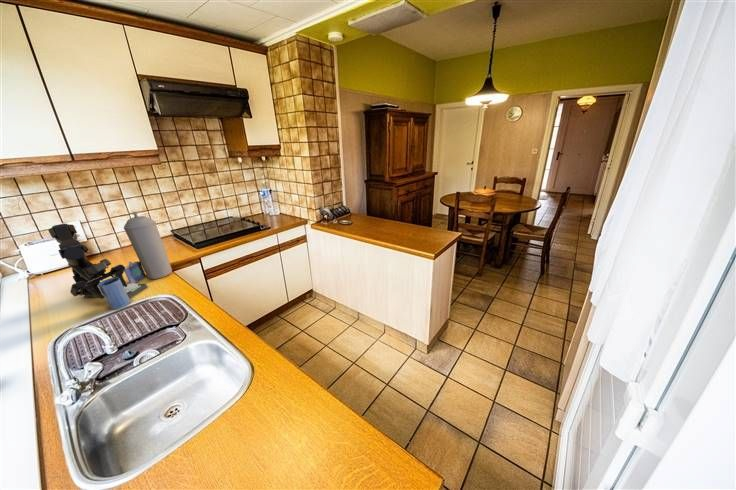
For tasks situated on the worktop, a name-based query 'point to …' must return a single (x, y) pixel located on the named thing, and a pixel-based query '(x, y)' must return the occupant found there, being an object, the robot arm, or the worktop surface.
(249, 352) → the worktop surface
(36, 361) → the worktop surface
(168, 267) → the canister
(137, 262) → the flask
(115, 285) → the blue cup
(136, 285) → the scale
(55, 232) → the robot arm
